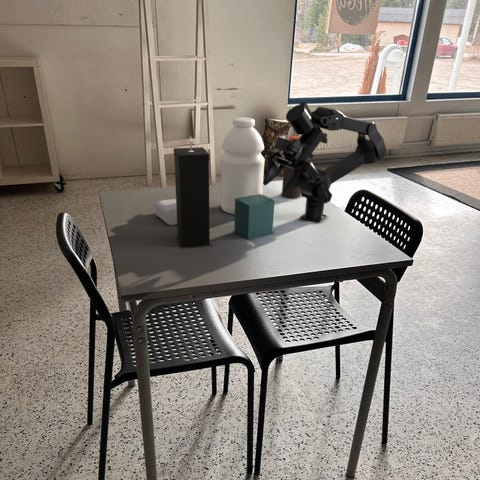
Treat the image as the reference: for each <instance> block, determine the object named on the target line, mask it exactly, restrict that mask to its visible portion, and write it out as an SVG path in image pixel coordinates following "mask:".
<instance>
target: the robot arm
mask: <svg viewBox="0 0 480 480" xmlns="http://www.w3.org/2000/svg"><path fill="white" fill-rule="evenodd" d="M285 120H286V121H287V122H288V124H289V125H290V127H291V128H292V129H293V131H294V132H295V134H296V135H297V136H299V139H298V140H296V139H292V140H291V141H289V139H286V138H284V137H280V136H277V138H276V141H275V144H274V146H273V149H268V150H267V151H266V152H265V154H264V158H265V161H266V162H267V169H266V172H265V174H264V175H265V176H264V177H263V186H268V184H270V183H271V182H272V181H273V180H275V178H277V177H278V176H279V175H280V174H282V173H283V172H282V170H284V167H285V166H286V167H289V168H292V169H294V172H293V176H292V177H291V179H290V180H289V182H288V183H287V185H286V186H285V188H284V189H283V193H284V194H286V193H288V192H290V191H291V190H293V189H295V188H297V187H299V189H300V192H301V195H300V197H302V198H305V199H306V201H305V210H304V214H302V216H300V219H301V220H307V221H311V222H316V223H321V222H322V221H323V220H324V219H325V218H326V217H327V214H324V208H325V204H328V203H330V202H331V200H332V198H333V194H332V192H331V191H330V189H331V185H333V184H334V183H335V182H337V181H339V180H340V179H342V178H344V177H345V176H347V175H349V174H350V173H352V172H354V171H355V170H357V169H358V168H360V167H362V166H364V165H369V164H370V165H371V164H375V163H377V162H378V163H379V162H381V160H383V159H384V157H385V156H386V154H387V147H386V143H385V140H384V137H382V135H381V134H380V131H379V130H378V128H377V124H376V123H375V122H373V121H369V120H366V119H365V120H364V119H357V118H354V117H350V116H346V115H344V113H343V112H342V111H339V110H337V109H336V108H335V109H334V108H331V107H325V106H318V107H316V109H315V110H313V111H311V108H310V107H309V105H308V102H305V101H300V103H299V104H296V105H295V106H293V107H291V108H289V110H287V112H286V115H285ZM323 130H326V131H330V132H331V131H333V132H334V131H340V130H346V131H350V132H355V133H357V138H356V147H355V150H354V152H352V153H350V154H349V155H346V156H345V157H343V158H341V159H340V160H338V161H337V162H334V163H333V164H332V165H330V166H328V167H327V168H325V169H319V168H316V167H315V166H314V164H313V163H312V162H310V161H308V160H310V159H313V158H314V155H313V153H314V152H315V151H316V149H317V147H318V146H319V145H320V144H328V133H326V132H323ZM367 136H368V138H367ZM274 149H275V150H274ZM277 150H278V151H277ZM279 151H281V152H279ZM284 158H285V159H284ZM288 163H289V164H288Z"/></svg>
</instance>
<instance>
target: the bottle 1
mask: <svg viewBox="0 0 480 480" xmlns="http://www.w3.org/2000/svg"><path fill="white" fill-rule="evenodd" d="M255 125H256V121H255V119H254V118H252V117H244V116H242V117H234V118H233V119H232V126H233V127H232V128H231V129H230V130H229V131H228V132H227V134H226V135H225V137H224V139H223V142H222V145H221V148H222V150H223V151H224V153H223V155H221V157H220V203H219V204H220V208H221V210H222V211H223V212H225V213H228V214H232V215H235V199H236V198H241V197H246V196H251V195H256V194H262V195H263V191H264V184H263V181H264V175H265V172H264V171H265V161H266V158H265V156H263V155H262V152H263V151H264V150H265V145H264V141H263V139H262V136H261V134H260V133H259V132H258V131H257V129H256V128H255Z"/></svg>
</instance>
